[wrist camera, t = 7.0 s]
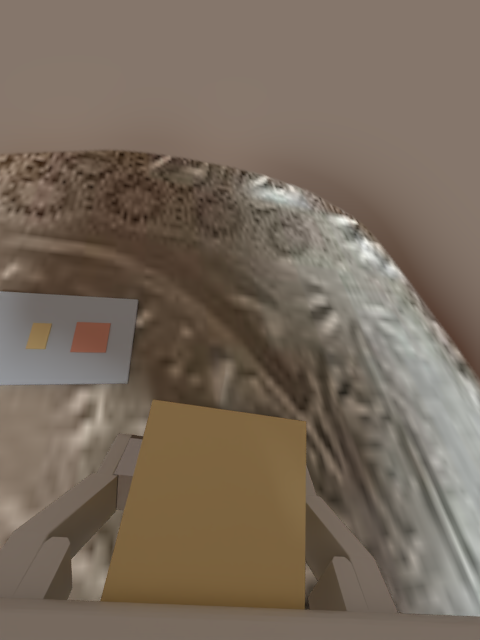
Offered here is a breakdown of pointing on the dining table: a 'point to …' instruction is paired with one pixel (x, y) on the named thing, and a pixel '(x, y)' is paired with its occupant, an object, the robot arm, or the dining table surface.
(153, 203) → the dining table surface
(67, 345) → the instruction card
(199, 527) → the ochre brick
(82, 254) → the dining table surface
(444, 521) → the dining table surface
